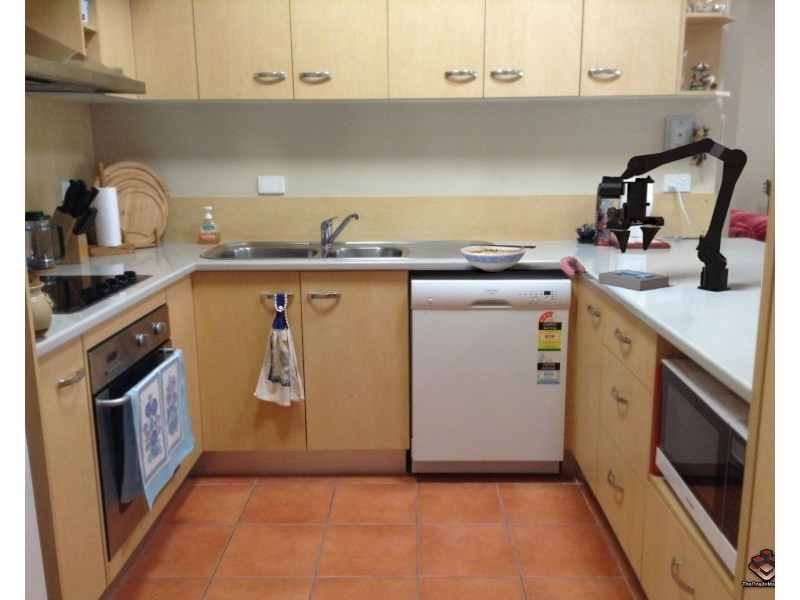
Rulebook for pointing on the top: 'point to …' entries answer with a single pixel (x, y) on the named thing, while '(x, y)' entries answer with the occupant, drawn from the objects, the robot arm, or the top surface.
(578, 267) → the video game controller
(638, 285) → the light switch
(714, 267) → the robot arm
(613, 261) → the top surface
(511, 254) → the ramen bowl
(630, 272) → the light blue bar
